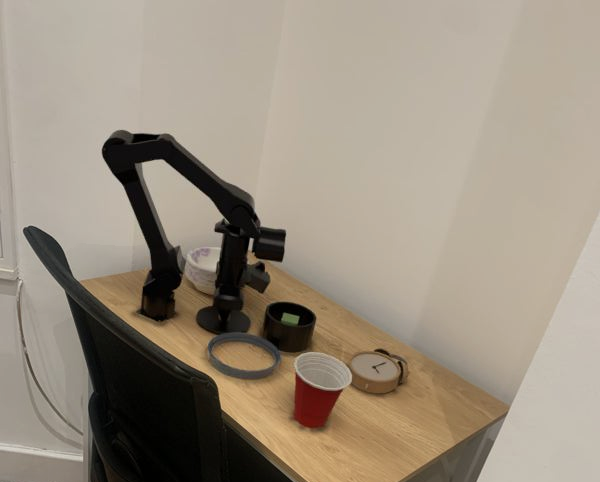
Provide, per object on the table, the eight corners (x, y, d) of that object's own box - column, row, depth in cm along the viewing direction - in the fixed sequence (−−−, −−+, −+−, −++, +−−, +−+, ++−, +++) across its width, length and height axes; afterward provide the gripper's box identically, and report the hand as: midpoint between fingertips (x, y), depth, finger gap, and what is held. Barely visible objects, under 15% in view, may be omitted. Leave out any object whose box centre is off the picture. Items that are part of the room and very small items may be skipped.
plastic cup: (313, 447, 115) (328, 393, 109) (270, 416, 120) (281, 362, 114) (349, 425, 123) (365, 373, 116) (307, 396, 128) (319, 345, 121)
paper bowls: (193, 268, 165) (196, 240, 161) (250, 283, 165) (255, 254, 161) (175, 293, 152) (178, 262, 148) (237, 308, 152) (242, 278, 148)
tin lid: (185, 322, 141) (187, 303, 139) (214, 304, 151) (217, 286, 148) (232, 343, 138) (235, 324, 135) (259, 323, 148) (263, 305, 145)
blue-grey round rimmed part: (192, 362, 130) (193, 351, 129) (230, 334, 142) (232, 324, 140) (256, 391, 126) (258, 380, 125) (290, 360, 138) (292, 350, 137)
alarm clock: (336, 359, 136) (387, 336, 144) (334, 377, 139) (384, 353, 147) (372, 388, 130) (424, 362, 137) (369, 406, 133) (419, 380, 140)
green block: (276, 341, 142) (281, 319, 139) (279, 333, 145) (283, 312, 142) (292, 345, 142) (297, 323, 139) (294, 337, 145) (299, 316, 142)
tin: (251, 341, 141) (256, 313, 137) (275, 323, 150) (280, 296, 146) (296, 360, 138) (303, 332, 134) (317, 341, 147) (324, 314, 143)
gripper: (273, 278, 129) (260, 344, 138) (270, 242, 144) (258, 304, 153) (217, 270, 127) (208, 337, 136) (220, 234, 142) (211, 297, 151)
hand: (223, 318), depth 144 cm, fingers closed on tin lid, 2 cm apart
